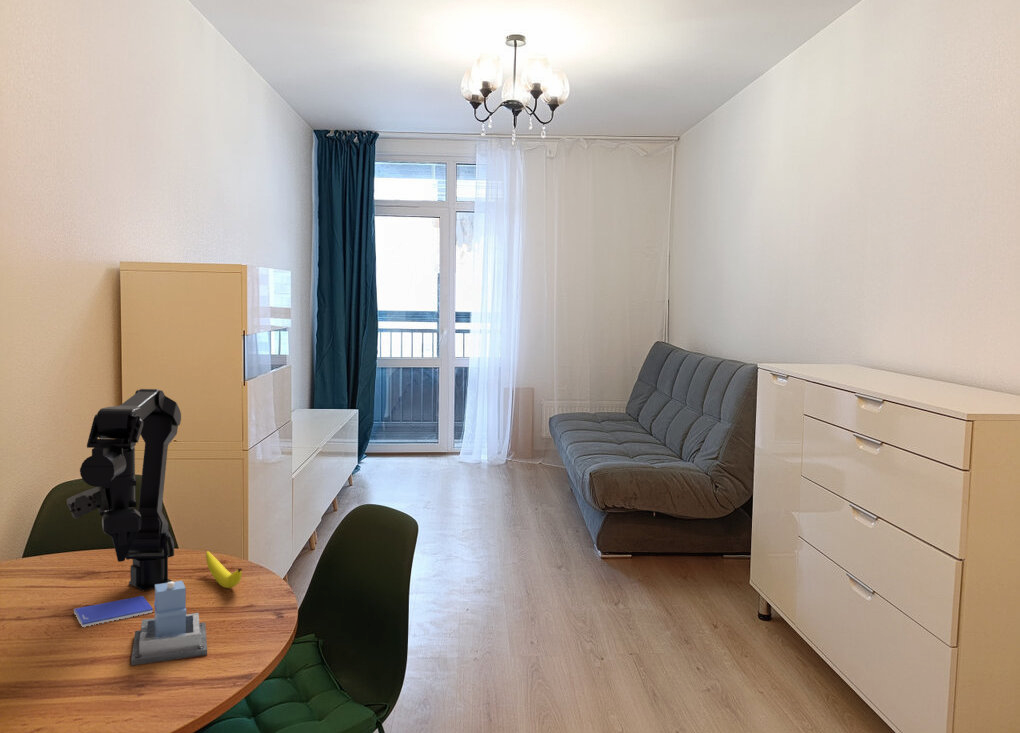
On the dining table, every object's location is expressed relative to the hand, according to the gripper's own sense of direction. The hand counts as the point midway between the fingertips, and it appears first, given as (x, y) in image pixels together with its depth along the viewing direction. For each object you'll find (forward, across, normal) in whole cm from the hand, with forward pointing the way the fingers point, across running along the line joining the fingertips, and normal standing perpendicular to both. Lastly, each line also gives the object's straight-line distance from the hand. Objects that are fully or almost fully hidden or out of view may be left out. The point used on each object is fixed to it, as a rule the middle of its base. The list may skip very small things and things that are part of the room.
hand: (119, 553), depth 146 cm
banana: (+13, -10, +21) cm, 27 cm away
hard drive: (+14, -4, -1) cm, 14 cm away
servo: (+12, +16, +7) cm, 21 cm away
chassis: (+13, +16, +7) cm, 22 cm away
